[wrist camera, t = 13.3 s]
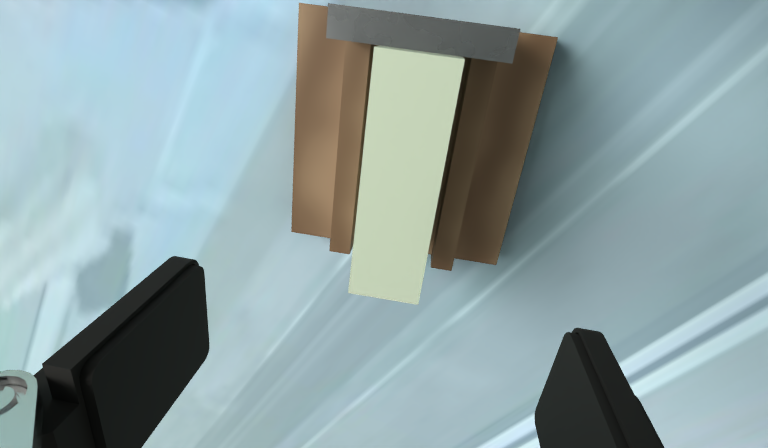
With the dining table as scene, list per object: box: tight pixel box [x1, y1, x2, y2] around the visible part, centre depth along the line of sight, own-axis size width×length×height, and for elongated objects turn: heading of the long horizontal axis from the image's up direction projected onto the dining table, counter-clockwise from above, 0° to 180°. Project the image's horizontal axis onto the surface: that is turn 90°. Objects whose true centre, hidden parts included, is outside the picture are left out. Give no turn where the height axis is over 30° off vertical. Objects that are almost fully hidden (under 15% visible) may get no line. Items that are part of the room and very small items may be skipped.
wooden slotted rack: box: [291, 3, 558, 271], centre depth 29 cm, size 16×16×4 cm
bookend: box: [326, 3, 520, 64], centre depth 23 cm, size 9×2×7 cm, turn 83°
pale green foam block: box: [348, 45, 465, 305], centre depth 25 cm, size 4×13×9 cm, turn 173°
